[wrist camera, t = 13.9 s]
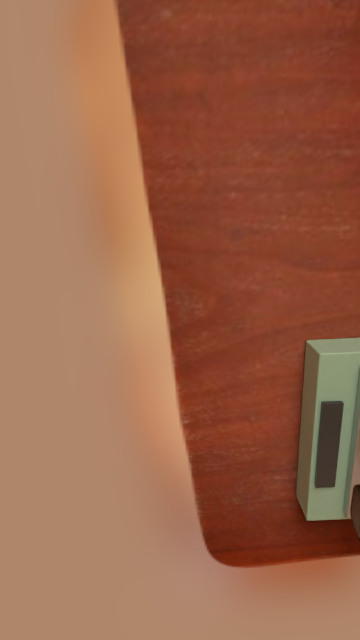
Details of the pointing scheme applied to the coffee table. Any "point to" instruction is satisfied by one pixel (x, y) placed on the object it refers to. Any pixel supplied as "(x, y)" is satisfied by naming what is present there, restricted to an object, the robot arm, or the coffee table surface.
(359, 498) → the robot arm
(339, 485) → the scale
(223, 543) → the coffee table surface
